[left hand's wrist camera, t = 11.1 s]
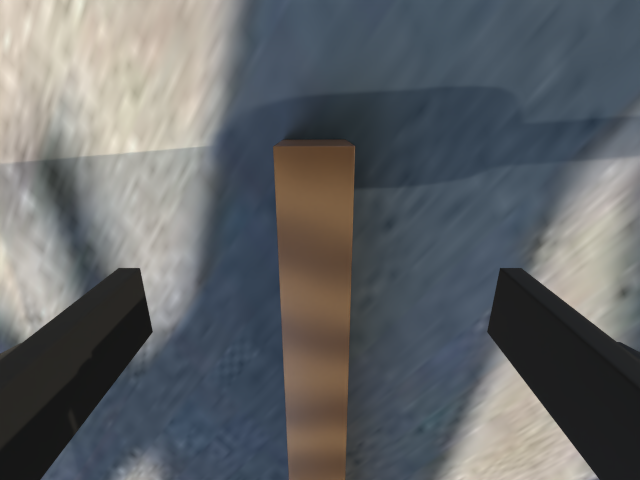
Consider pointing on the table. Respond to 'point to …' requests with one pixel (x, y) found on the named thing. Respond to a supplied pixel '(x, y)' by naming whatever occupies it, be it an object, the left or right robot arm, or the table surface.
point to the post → (315, 299)
